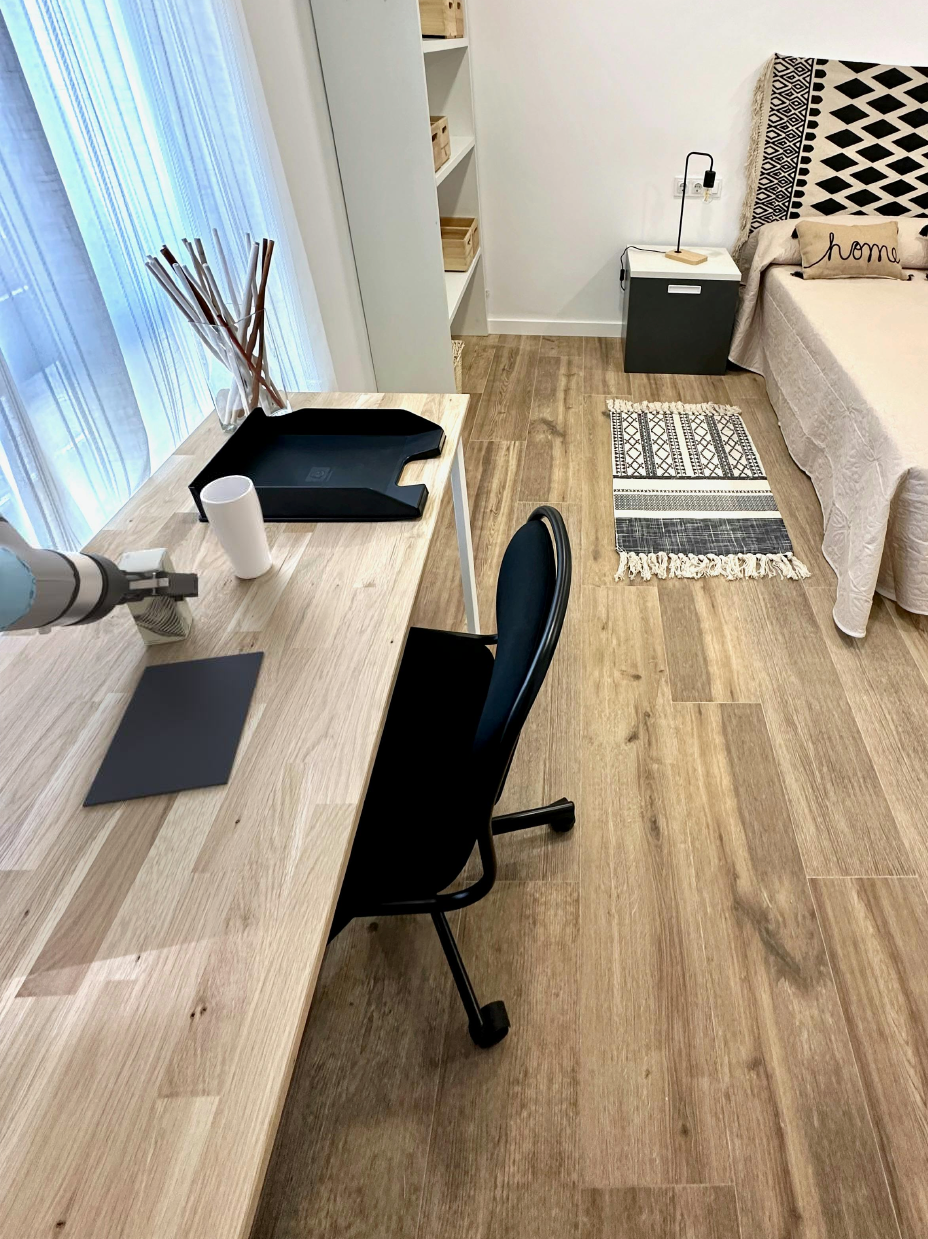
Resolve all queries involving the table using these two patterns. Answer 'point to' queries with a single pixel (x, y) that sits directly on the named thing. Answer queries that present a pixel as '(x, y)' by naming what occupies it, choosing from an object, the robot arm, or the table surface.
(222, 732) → the dark blue mat
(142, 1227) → the table surface
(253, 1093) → the table surface
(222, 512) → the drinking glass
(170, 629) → the box
